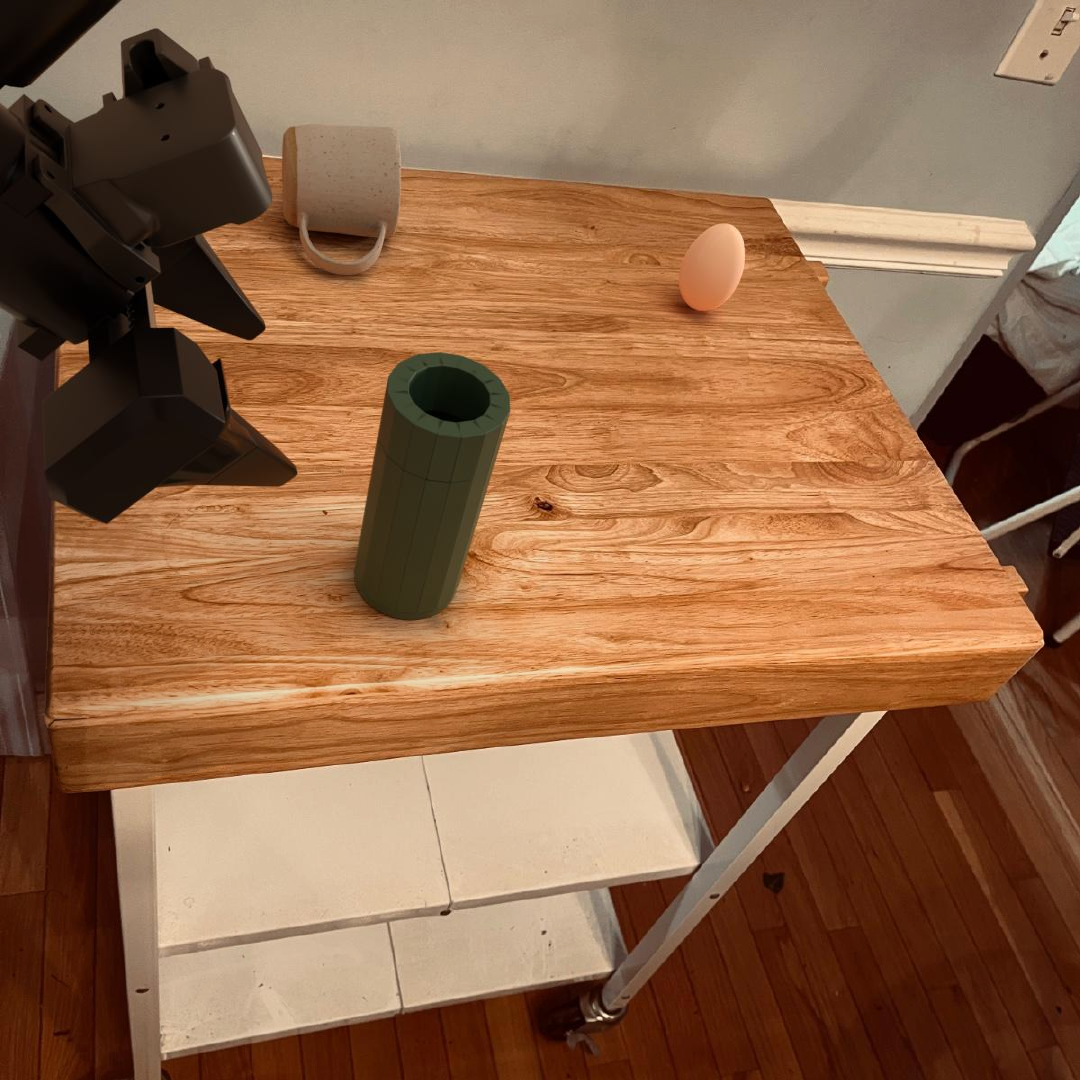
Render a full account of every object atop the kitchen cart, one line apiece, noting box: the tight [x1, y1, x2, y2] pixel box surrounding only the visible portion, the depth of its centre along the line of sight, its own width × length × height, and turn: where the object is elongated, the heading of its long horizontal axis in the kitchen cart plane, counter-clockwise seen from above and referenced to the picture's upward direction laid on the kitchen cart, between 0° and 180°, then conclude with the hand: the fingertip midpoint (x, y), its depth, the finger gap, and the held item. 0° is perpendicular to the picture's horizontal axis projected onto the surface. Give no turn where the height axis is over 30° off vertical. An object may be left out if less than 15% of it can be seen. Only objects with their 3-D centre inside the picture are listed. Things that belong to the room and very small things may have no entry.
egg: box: [678, 223, 746, 312], centre depth 82 cm, size 5×5×7 cm
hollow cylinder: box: [353, 351, 511, 621], centre depth 55 cm, size 6×6×14 cm
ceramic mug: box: [281, 123, 402, 276], centre depth 77 cm, size 11×8×8 cm
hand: (273, 401), depth 47 cm, fingers open, 9 cm apart
